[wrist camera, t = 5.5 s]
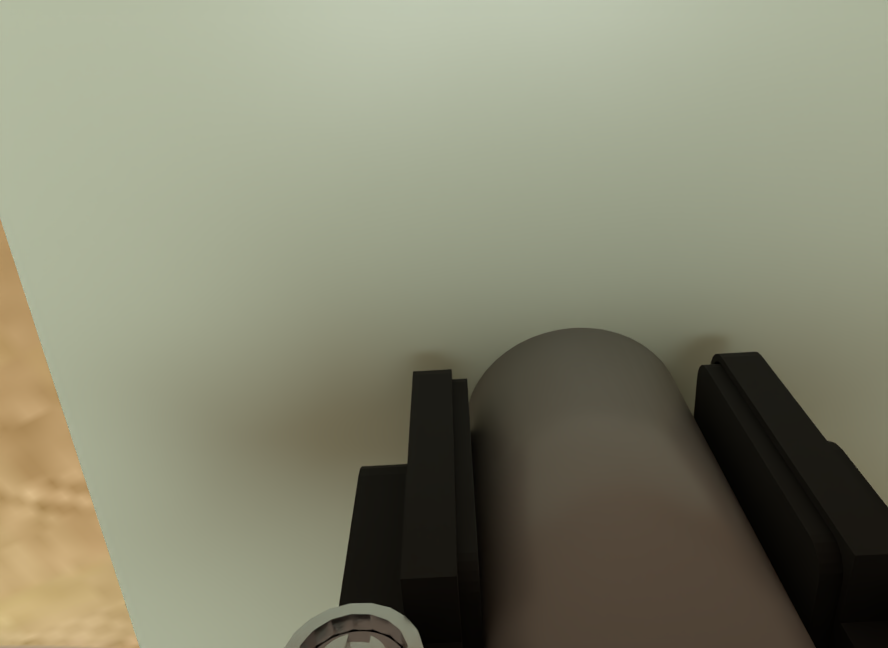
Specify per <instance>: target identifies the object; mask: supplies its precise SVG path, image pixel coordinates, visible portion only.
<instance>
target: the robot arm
mask: <svg viewBox="0 0 888 648" xmlns="http://www.w3.org/2000/svg"><path fill="white" fill-rule="evenodd" d="M694 419H695V421H696V423H697V424H698V426H699V428H700V430H701V432H702V434H703V436H704V438H705V440H706V441H707V443H708V445H709V447H710V449H711V451H712V453H713V455H714V457H715V458H716V460H717V462H718V464H719V466H720V468H721V470H722V472H723V474H724V475H725V477H726V479H727V481H728V483H729V485H730V487H731V489H732V490H733V492H734V494H735V496H736V498H737V500H738V502H739V504H740V506H741V507H742V509H743V511H744V513H745V515H746V517H747V519H748V521H749V523H750V524H751V526H752V528H753V530H754V532H755V534H756V536H757V538H758V540H759V541H760V543H761V545H762V547H763V549H764V551H765V553H766V555H767V557H768V558H769V560H770V562H771V564H772V566H773V568H774V570H775V572H776V574H777V575H778V577H779V579H780V581H781V583H782V585H783V587H784V589H785V591H786V592H787V594H788V596H789V598H790V600H791V602H792V604H793V606H794V608H795V609H796V611H797V613H798V615H799V617H800V619H801V621H802V623H803V625H804V626H805V628H806V630H807V632H808V634H809V636H810V638H811V640H812V642H813V643H814V645H815V647H816V648H888V507H887V505H886V504H885V503H884V502H883V500H882V499H881V498H880V496H879V495H878V494H877V493H876V491H875V490H874V489H873V488H872V486H871V485H870V484H869V482H868V481H867V480H866V479H865V477H864V476H863V475H862V474H861V472H860V471H859V470H858V468H857V467H856V466H855V465H854V463H853V462H852V461H851V460H850V458H849V457H848V456H847V454H846V453H845V452H844V451H843V449H841V448H840V447H839V446H838V445H837V444H836V443H835V442H831V441H827V440H826V439H825V437H824V436H823V435H822V433H821V432H820V431H819V429H818V428H817V427H816V426H815V424H814V423H813V422H812V420H811V419H810V418H809V416H808V415H807V414H806V413H805V411H804V410H803V409H802V407H801V406H800V405H799V403H798V402H797V401H796V400H795V398H794V397H793V396H792V394H791V393H790V392H789V390H788V389H787V388H786V387H785V385H784V384H783V383H782V381H781V380H780V379H779V378H778V376H777V375H776V374H775V372H774V371H773V370H772V368H771V367H770V366H769V365H768V363H767V362H766V361H765V359H764V358H763V357H762V355H761V354H759V353H758V352H740V353H722V354H715V355H714V356H713V357H712V360H711V364H709V365H701V366H700V367H699V370H698V374H697V384H696V395H695V406H694ZM285 648H484V642H483V625H482V607H481V590H480V573H479V557H478V541H477V525H476V510H475V494H474V478H473V462H472V446H471V431H470V415H469V399H468V383H467V378H466V379H452V370H451V369H446V370H428V371H413V377H412V394H411V410H410V426H409V443H408V459H407V464H396V465H377V466H362V467H361V468H360V471H359V475H358V481H357V488H356V495H355V501H354V508H353V515H352V521H351V528H350V535H349V541H348V548H347V554H346V561H345V568H344V574H343V581H342V588H341V594H340V601H339V606H338V607H335V608H331V609H328V610H326V611H324V612H322V613H320V614H318V615H317V616H315V617H313V618H311V619H309V620H308V621H307V622H306V623H305V624H304V625H303V626H301V627H300V628H299V629H298V630H297V631H296V632H295V633H294V634H293V635H292V637H291V638H290V640H289V641H288V643H287V644H286V646H285Z"/></svg>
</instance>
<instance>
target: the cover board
mask: <svg viewBox="0 0 888 648" xmlns="http://www.w3.org/2000/svg"><path fill="white" fill-rule="evenodd" d="M0 219H1V222H2V225H3V228H4V231H5V234H6V237H7V240H8V244H9V247H10V250H11V253H12V256H13V259H14V262H15V265H16V268H17V271H18V274H19V277H20V280H21V284H22V287H23V290H24V293H25V296H26V299H27V302H28V305H29V308H30V311H31V314H32V317H33V320H34V324H35V327H36V330H37V333H38V336H39V339H40V342H41V345H42V348H43V351H44V354H45V357H46V360H47V363H48V367H49V370H50V373H51V376H52V379H53V382H54V385H55V388H56V391H57V394H58V397H59V400H60V403H61V407H62V410H63V413H64V416H65V419H66V422H67V425H68V428H69V431H70V434H71V437H72V440H73V443H74V447H75V450H76V453H77V456H78V459H79V462H80V465H81V468H82V471H83V474H84V477H85V480H86V483H87V487H88V490H89V493H90V496H91V499H92V502H93V505H94V508H95V511H96V514H97V517H98V520H99V523H100V527H101V530H102V533H103V536H104V539H105V542H106V545H107V548H108V551H109V554H110V557H111V560H112V563H113V567H114V570H115V573H116V576H117V579H118V582H119V585H120V588H121V591H122V594H123V597H124V600H125V603H126V607H127V610H128V613H129V616H130V619H131V622H132V625H133V628H134V631H135V634H136V637H137V640H138V643H139V646H140V648H285V646H286V644H287V643H288V641H289V640H290V638H291V637H292V635H293V634H294V633H295V632H296V631H297V630H298V629H299V628H300V627H301V626H303V625H304V624H305V623H306V622H307V621H308V620H309V619H311V618H313V617H315V616H317V615H318V614H320V613H322V612H324V611H326V610H328V609H331V608H335V607H338V606H339V601H340V594H341V588H342V581H343V574H344V568H345V561H346V554H347V548H348V541H349V535H350V528H351V521H352V515H353V508H354V501H355V495H356V488H357V481H358V475H359V471H360V468H361V467H362V466H377V465H396V464H407V459H408V443H409V426H410V410H411V394H412V377H413V371H428V370H446V369H451V370H452V379H466V378H467V383H468V399H469V415H470V431H471V446H472V462H473V478H474V494H475V510H476V525H477V541H478V557H479V573H480V590H481V607H482V625H483V642H484V648H816V647H815V645H814V643H813V642H812V640H811V638H810V636H809V634H808V632H807V630H806V628H805V626H804V625H803V623H802V621H801V619H800V617H799V615H798V613H797V611H796V609H795V608H794V606H793V604H792V602H791V600H790V598H789V596H788V594H787V592H786V591H785V589H784V587H783V585H782V583H781V581H780V579H779V577H778V575H777V574H776V572H775V570H774V568H773V566H772V564H771V562H770V560H769V558H768V557H767V555H766V553H765V551H764V549H763V547H762V545H761V543H760V541H759V540H758V538H757V536H756V534H755V532H754V530H753V528H752V526H751V524H750V523H749V521H748V519H747V517H746V515H745V513H744V511H743V509H742V507H741V506H740V504H739V502H738V500H737V498H736V496H735V494H734V492H733V490H732V489H731V487H730V485H729V483H728V481H727V479H726V477H725V475H724V474H723V472H722V470H721V468H720V466H719V464H718V462H717V460H716V458H715V457H714V455H713V453H712V451H711V449H710V447H709V445H708V443H707V441H706V440H705V438H704V436H703V434H702V432H701V430H700V428H699V426H698V424H697V423H696V421H695V419H694V406H695V395H696V384H697V374H698V370H699V367H700V366H701V365H709V364H711V360H712V357H713V356H714V355H715V354H722V353H740V352H758V353H759V354H761V355H762V357H763V358H764V359H765V361H766V362H767V363H768V365H769V366H770V367H771V368H772V370H773V371H774V372H775V374H776V375H777V376H778V378H779V379H780V380H781V381H782V383H783V384H784V385H785V387H786V388H787V389H788V390H789V392H790V393H791V394H792V396H793V397H794V398H795V400H796V401H797V402H798V403H799V405H800V406H801V407H802V409H803V410H804V411H805V413H806V414H807V415H808V416H809V418H810V419H811V420H812V422H813V423H814V424H815V426H816V427H817V428H818V429H819V431H820V432H821V433H822V435H823V436H824V437H825V439H826V440H827V441H831V442H835V443H836V444H837V445H838V446H839V447H840V448H841V449H843V451H844V452H845V453H846V454H847V456H848V457H849V458H850V460H851V461H852V462H853V463H854V465H855V466H856V467H857V468H858V470H859V471H860V472H861V474H862V475H863V476H864V477H865V479H866V480H867V481H868V482H869V484H870V485H871V486H872V488H873V489H874V490H875V491H876V493H877V494H878V495H879V496H880V498H881V499H882V500H883V502H884V503H885V504H886V505H887V507H888V0H0Z"/></svg>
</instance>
